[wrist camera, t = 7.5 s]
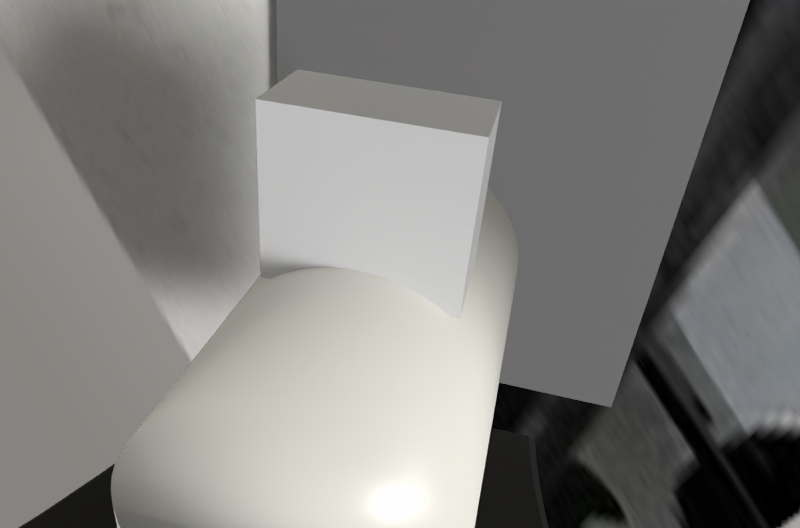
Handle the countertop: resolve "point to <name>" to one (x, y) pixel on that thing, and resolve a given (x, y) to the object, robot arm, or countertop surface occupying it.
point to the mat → (554, 143)
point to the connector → (345, 327)
